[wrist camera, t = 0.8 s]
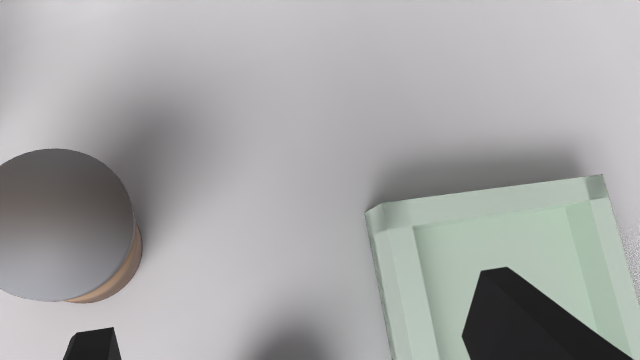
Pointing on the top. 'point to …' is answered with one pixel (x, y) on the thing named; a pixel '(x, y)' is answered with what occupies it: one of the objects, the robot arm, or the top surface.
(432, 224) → the tray
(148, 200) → the top surface
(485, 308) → the robot arm
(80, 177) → the cylinder
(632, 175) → the top surface
